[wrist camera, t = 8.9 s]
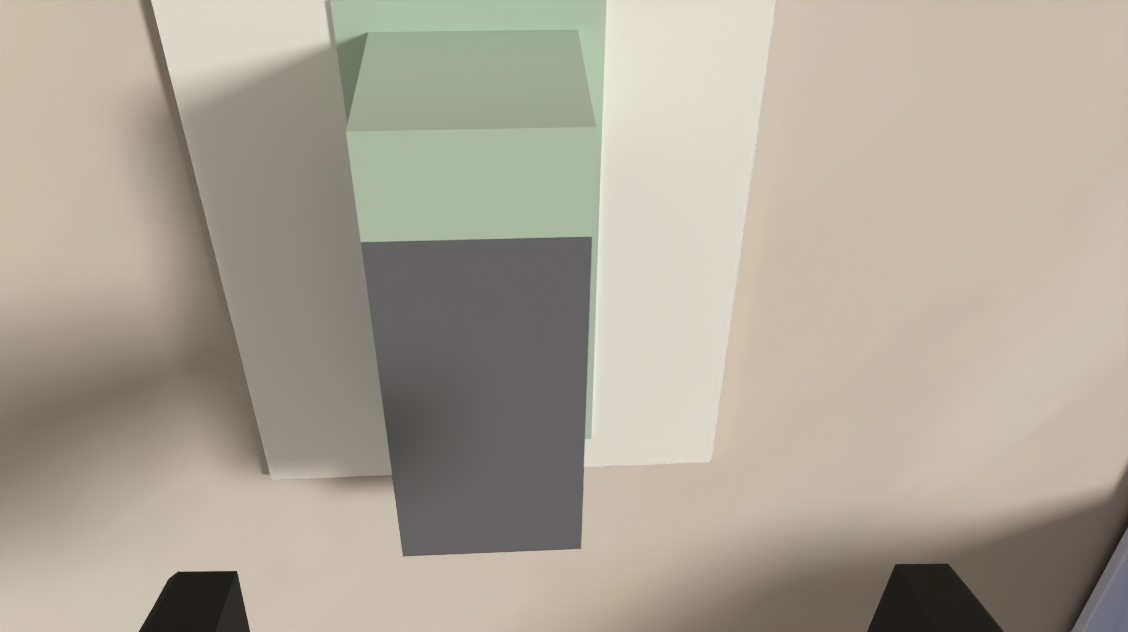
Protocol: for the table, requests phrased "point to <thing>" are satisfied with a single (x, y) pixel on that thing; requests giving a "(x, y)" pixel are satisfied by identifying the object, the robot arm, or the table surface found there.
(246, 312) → the paper sheet
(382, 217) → the block
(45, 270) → the table surface
